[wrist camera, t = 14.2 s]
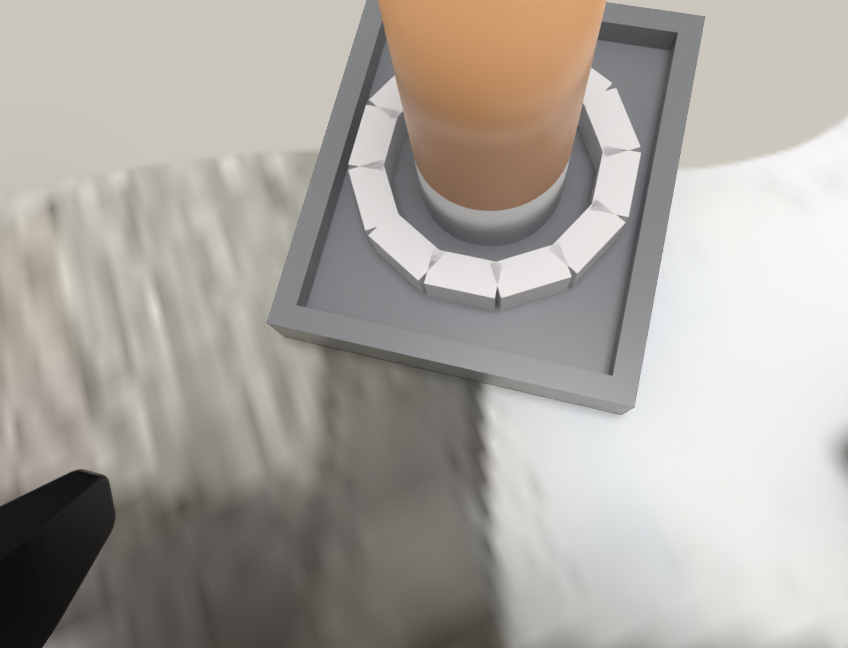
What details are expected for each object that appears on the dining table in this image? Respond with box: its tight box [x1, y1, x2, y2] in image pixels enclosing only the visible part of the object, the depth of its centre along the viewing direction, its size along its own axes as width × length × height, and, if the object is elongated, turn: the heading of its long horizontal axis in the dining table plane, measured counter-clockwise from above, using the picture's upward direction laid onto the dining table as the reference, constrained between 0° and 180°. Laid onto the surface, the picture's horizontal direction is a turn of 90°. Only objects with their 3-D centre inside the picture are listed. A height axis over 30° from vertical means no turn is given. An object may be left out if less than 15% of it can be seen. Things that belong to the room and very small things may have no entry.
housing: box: [267, 0, 705, 415], centre depth 24 cm, size 14×12×2 cm
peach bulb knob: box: [378, 0, 606, 246], centre depth 18 cm, size 5×5×13 cm
